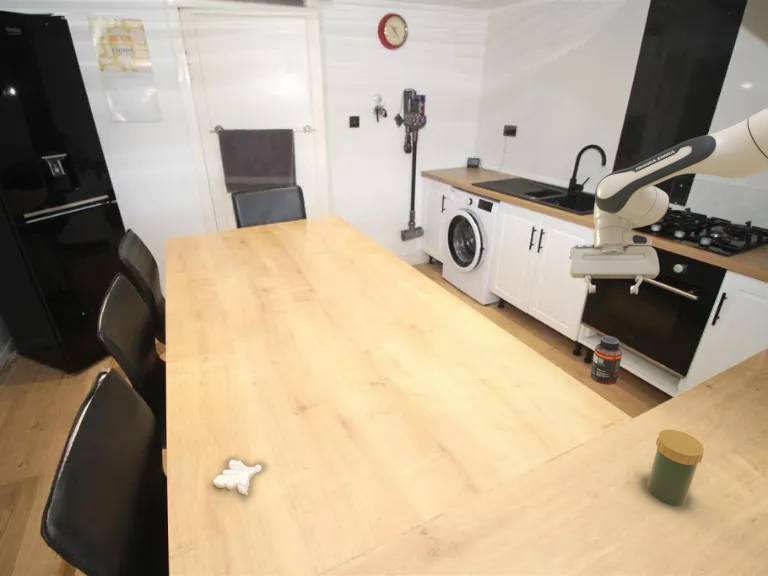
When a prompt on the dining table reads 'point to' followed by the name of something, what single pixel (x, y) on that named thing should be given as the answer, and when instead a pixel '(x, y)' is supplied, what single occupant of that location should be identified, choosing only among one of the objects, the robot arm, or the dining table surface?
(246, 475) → the acanthus leaf ornament
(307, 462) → the dining table surface
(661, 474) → the sauce jar
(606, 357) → the supplement bottle
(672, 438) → the lid
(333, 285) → the dining table surface
